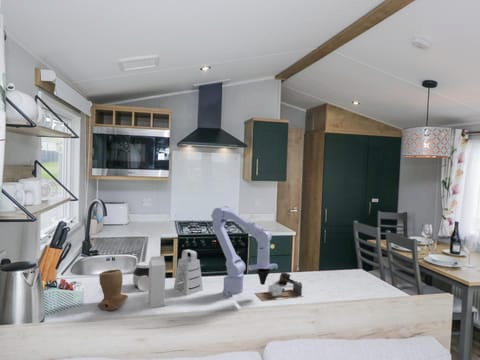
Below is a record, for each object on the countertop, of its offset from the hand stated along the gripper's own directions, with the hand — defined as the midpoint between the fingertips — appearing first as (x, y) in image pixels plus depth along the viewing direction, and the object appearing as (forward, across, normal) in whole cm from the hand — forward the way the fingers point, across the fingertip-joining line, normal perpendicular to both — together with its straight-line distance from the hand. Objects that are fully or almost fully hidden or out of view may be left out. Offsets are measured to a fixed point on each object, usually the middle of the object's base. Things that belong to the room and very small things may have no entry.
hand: (262, 283), depth 157 cm
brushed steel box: (+6, +8, -1) cm, 10 cm away
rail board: (+8, +9, 0) cm, 12 cm away
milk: (+8, -49, +6) cm, 50 cm away
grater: (+8, -32, +20) cm, 39 cm away
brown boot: (+8, -68, +11) cm, 69 cm away
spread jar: (+8, -53, +29) cm, 61 cm away
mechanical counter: (+8, +22, +13) cm, 26 cm away
